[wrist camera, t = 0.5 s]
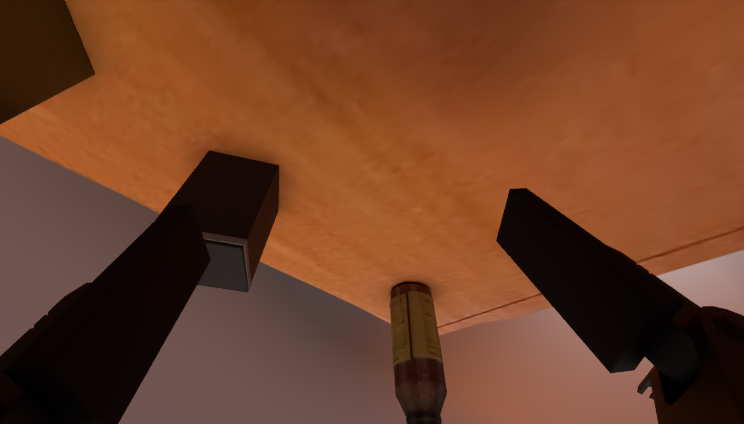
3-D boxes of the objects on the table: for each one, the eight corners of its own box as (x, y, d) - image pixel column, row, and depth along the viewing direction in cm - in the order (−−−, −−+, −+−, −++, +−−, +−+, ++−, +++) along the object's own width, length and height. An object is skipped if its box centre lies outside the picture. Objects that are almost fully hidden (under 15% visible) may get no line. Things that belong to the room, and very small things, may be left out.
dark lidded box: (208, 150, 27) (144, 231, 20) (279, 165, 28) (242, 248, 21) (217, 199, 31) (168, 281, 24) (278, 211, 32) (248, 292, 25)
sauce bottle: (395, 303, 46) (398, 470, 32) (385, 283, 42) (384, 464, 28) (436, 299, 45) (459, 472, 31) (431, 277, 41) (454, 466, 27)
